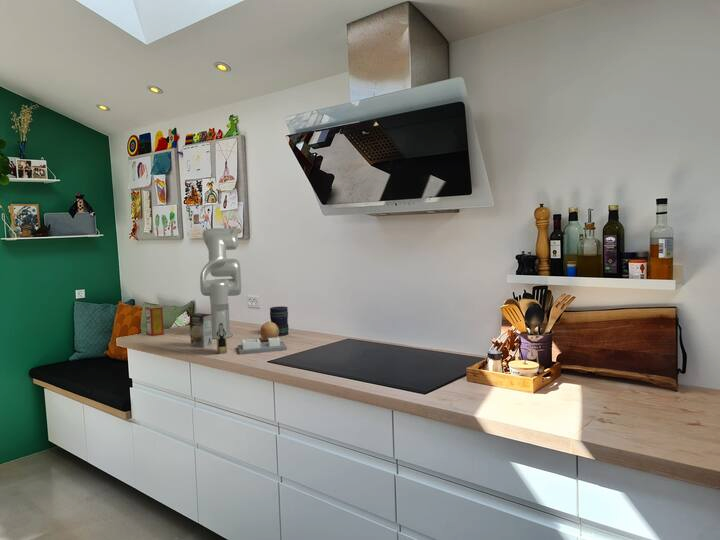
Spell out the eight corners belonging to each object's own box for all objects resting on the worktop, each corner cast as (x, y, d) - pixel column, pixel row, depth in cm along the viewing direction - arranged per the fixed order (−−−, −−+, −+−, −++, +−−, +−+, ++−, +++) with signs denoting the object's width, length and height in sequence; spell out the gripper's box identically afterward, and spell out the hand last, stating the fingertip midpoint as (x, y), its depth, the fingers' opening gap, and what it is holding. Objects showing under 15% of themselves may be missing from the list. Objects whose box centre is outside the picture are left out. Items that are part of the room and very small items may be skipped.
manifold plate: (237, 348, 248) (237, 339, 247) (282, 344, 254) (282, 335, 254) (239, 354, 234) (238, 344, 234) (286, 350, 241) (286, 340, 240)
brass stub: (217, 352, 240) (216, 331, 240) (226, 351, 242) (225, 330, 241) (217, 354, 236) (216, 333, 235) (227, 353, 237) (226, 332, 237)
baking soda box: (163, 334, 288) (162, 306, 287) (152, 336, 284) (150, 308, 283) (158, 332, 296) (156, 305, 294) (146, 333, 291) (145, 306, 290)
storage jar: (292, 333, 280) (291, 307, 279) (280, 337, 272) (279, 309, 270) (278, 332, 285) (277, 306, 284) (266, 335, 277) (265, 308, 276)
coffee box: (190, 346, 254) (188, 315, 253) (199, 343, 260) (197, 313, 259) (204, 347, 250) (202, 315, 249) (213, 345, 256) (211, 313, 255)
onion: (275, 342, 257) (274, 323, 257) (257, 342, 259) (256, 323, 259) (282, 338, 267) (281, 320, 266) (264, 338, 269) (263, 320, 268)
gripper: (211, 305, 244) (213, 342, 246) (211, 310, 228) (213, 349, 229) (227, 304, 247) (229, 340, 248) (229, 309, 230) (230, 348, 231)
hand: (221, 344), depth 239 cm, fingers open, 6 cm apart
